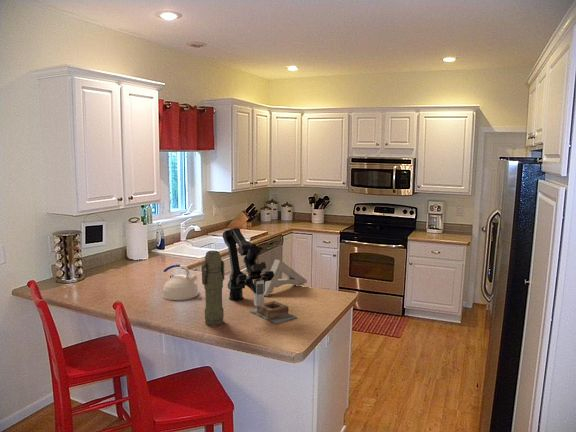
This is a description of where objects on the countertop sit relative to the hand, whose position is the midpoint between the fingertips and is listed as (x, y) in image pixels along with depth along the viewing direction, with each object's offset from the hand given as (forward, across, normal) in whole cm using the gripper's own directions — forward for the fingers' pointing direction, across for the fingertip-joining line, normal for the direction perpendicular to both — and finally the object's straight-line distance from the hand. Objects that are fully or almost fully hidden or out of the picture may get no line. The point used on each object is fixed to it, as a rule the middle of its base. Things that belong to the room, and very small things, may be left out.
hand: (259, 292), depth 221 cm
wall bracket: (-18, +32, +38) cm, 53 cm away
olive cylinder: (+6, -22, +14) cm, 26 cm away
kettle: (-29, -26, +49) cm, 63 cm away
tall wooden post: (+4, 0, +6) cm, 7 cm away
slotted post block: (+8, +8, +11) cm, 16 cm away
